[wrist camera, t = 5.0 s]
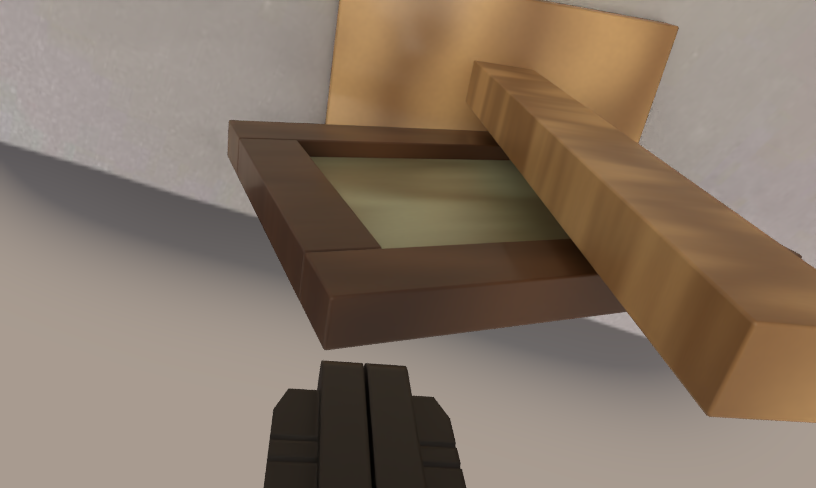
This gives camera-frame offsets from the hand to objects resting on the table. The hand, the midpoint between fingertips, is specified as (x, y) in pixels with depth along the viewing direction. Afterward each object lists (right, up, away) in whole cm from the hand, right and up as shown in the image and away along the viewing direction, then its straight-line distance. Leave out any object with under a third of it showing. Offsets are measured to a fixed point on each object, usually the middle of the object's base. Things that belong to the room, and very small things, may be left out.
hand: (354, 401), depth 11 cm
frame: (+2, +7, +15) cm, 17 cm away
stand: (+5, +11, +20) cm, 23 cm away
